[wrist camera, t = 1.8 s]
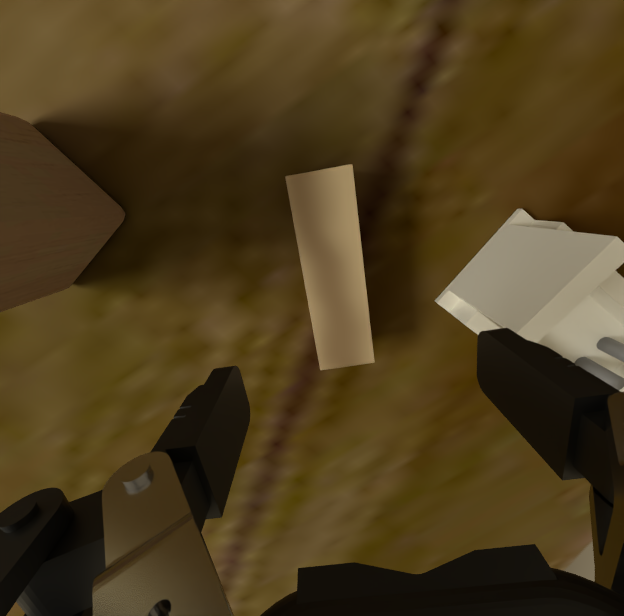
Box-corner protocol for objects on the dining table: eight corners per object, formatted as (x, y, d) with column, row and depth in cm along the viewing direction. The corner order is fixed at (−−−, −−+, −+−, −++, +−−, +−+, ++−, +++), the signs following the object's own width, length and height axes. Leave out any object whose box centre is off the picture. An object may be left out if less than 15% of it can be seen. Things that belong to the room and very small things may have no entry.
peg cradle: (517, 208, 25) (642, 212, 15) (661, 338, 29) (831, 405, 19) (434, 301, 28) (497, 352, 18) (576, 408, 32) (688, 495, 22)
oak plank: (344, 171, 24) (352, 164, 20) (364, 336, 29) (374, 362, 24) (290, 181, 25) (285, 176, 20) (319, 343, 29) (320, 370, 25)
